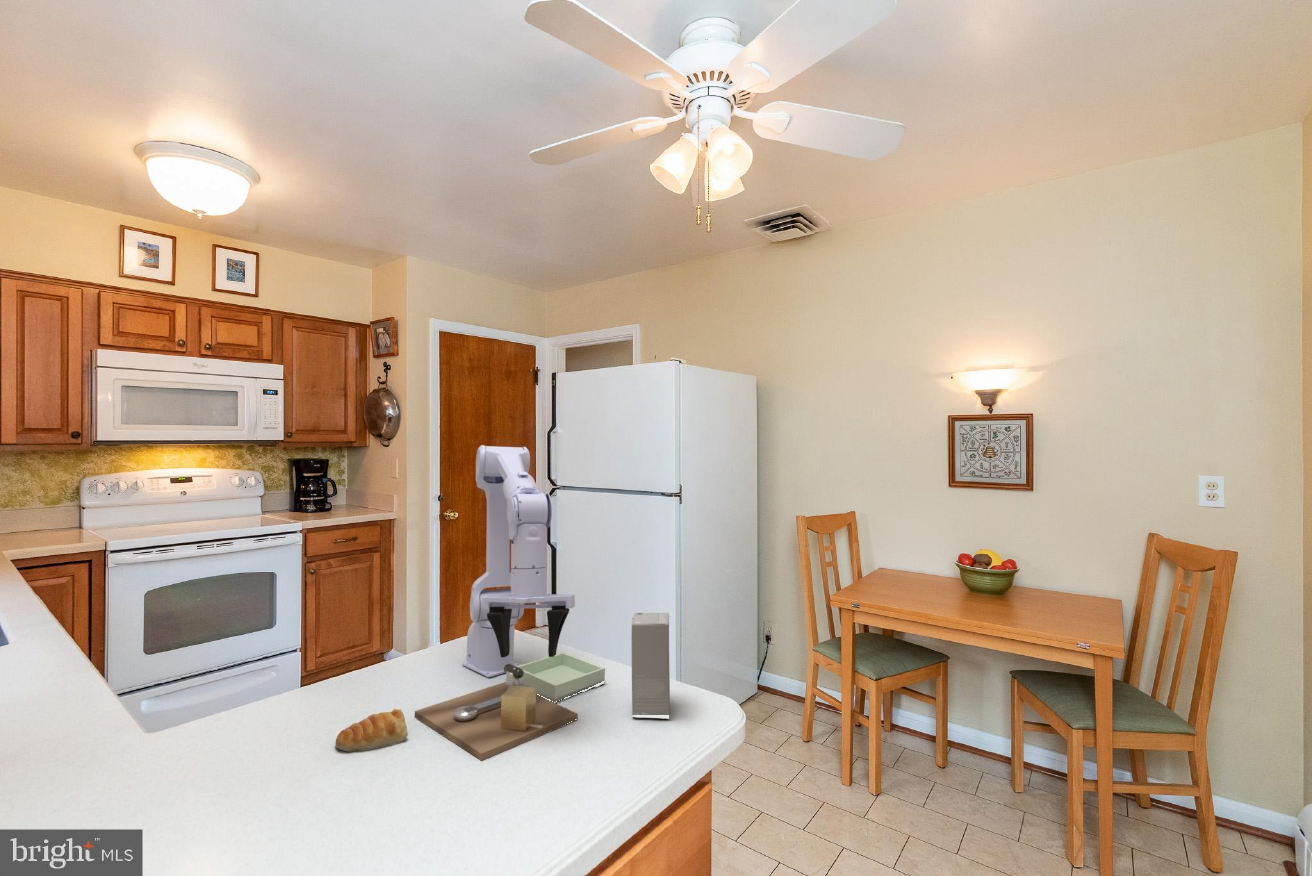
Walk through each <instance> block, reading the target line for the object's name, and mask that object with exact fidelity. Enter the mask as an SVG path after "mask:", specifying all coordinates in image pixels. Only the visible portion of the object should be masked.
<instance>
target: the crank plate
mask: <svg viewBox="0 0 1312 876" xmlns="http://www.w3.org/2000/svg"><path fill="white" fill-rule="evenodd" d="M505 692H506V681H504V682H501V683H498V684H494V685H491V686H488V687H486V688H483V689H480V690H479V689H478V690H475V691H474V692H471V693H467V694H464V695H460V696H457V697H454V698H451V699H449V700H445V701H442V702H439V703H436V704H432V705H429V706H426V707H424V708H420V709H417V710H415V711H414V718H415V719H416V720H418V722H419V721H420V722H421V723H422V724H424V725H425V726H427V727H429V728H430V729H432V730H433V731H435V732H436V733H438V734H440V735H441V736H442V737H444V738H445V739H448V740H449V741H450V742H452V743H454V744H456V746H458V747H460V748H461V749H463V750H465V752H468V753H469V754H470V755H472V756H474V757H475V758H476V759H478V760H480V761H484V760H487V759H489V758H491V757H493V756H496V755H499V754H500V753H503V752H506V751H508V750H510V749H512V748H515V747H517V746H519V745H521V744H524V743H527V742H528V741H529V742H530V741H531V740H534V739H537V738H538V737H541V736H543V735H545V734H544V733H546V734H548V733H550V732H552V731H551V730H553V731H556V730H557V729H559V727H560V728H562V727H564V726H563V725H565V724H567V723H569V722H571V721H574V720H575V719H577V720H578V713H577V712H575V711H572V710H570V709H568V708H566V707H564V706H562V705H560V704H557V703H554V702H552V701H549V700H547V699H545V698H543V697H541V696H539V695H537V694H536V719H535V721H534V722H533V723H532V724H531V725H530V726H529V727H528V729H527V730H526V731H522V730H512V729H502V728H501V706H499V707H497V708H494V709H491V710H488V711H485V712H482V713H480V714H477V717H476V718H474V719H472V720H468V721H458V720H455V719H454V718H453V715H454V710H455V709H457V708H459V707H463V706H474V705H477V704H480V703H483V702H486V701H489V700H492V699H495V698H497V697H500V696H501V695H502V694H504V693H505ZM574 722H575V721H574ZM569 724H570V723H569ZM567 725H568V724H567ZM561 726H562V727H561ZM565 726H566V725H565ZM556 728H557V729H556ZM549 731H550V732H549ZM533 738H534V739H533Z"/></svg>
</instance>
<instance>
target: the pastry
mask: <svg viewBox="0 0 1312 876" xmlns="http://www.w3.org/2000/svg"><path fill="white" fill-rule="evenodd" d="M408 735H409V733H408V726H407V722H406V720H405V714H404V712H403V711H402V709H397V708H394V709H392V711H387V712H385V711H382V712H379V713H372V714H370V715H368V716H367V717H366V718H364V719H362V720H360V721H359V722H355V723H352V724H351V725H350V726H348V727H345V728H344V729H343V730H341V731H340V732H339V733H338V734H337V736H336V739H335V747H336V748H338V749H339V750H342V751H343V752H354V751H370V750H371V751H372V750H374V749H378V748H383V747H388V746H392V745H396V744H399V743H402V742H404V741H405V740H406V738H407V737H408Z"/></svg>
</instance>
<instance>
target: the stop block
mask: <svg viewBox="0 0 1312 876" xmlns="http://www.w3.org/2000/svg"><path fill="white" fill-rule="evenodd" d="M535 719H536V688H535V687H523V686H511V687H510V688H509V689H508V690H507V691H506V692H505V693H504V694H502V695H501V728H502V729H512V730H522V731H526V730H527V729H528V727H529V726H530V725H531V724H532V723H533V722H534V721H535Z"/></svg>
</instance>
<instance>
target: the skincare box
mask: <svg viewBox="0 0 1312 876" xmlns="http://www.w3.org/2000/svg"><path fill="white" fill-rule="evenodd" d="M631 618H632V619H631V620H632V621H631V704H632V705H631V710H632V711H631V713H632V714H631V715H670V716H671V689H670V688H671V685H670V683H671V682H670V614H669V612H635V613H633V617H631Z"/></svg>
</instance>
